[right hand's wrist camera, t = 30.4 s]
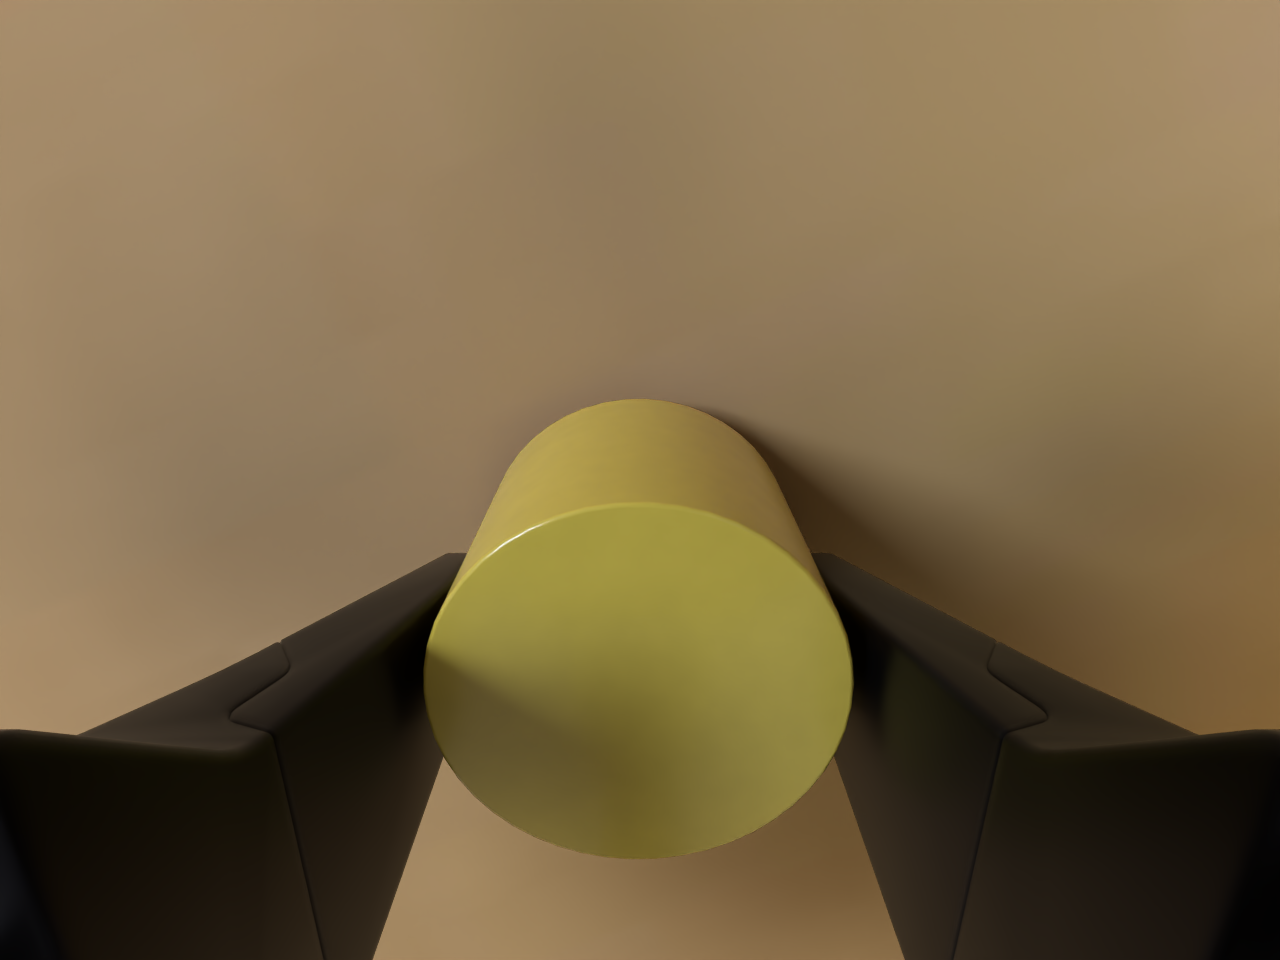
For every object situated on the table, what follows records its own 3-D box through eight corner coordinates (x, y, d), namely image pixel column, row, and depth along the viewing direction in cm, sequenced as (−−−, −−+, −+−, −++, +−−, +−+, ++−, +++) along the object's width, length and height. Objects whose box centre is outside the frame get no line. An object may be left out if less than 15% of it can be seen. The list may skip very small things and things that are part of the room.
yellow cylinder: (558, 345, 11) (514, 427, 7) (843, 474, 11) (940, 609, 8) (449, 605, 12) (367, 783, 9) (705, 703, 13) (731, 906, 9)
